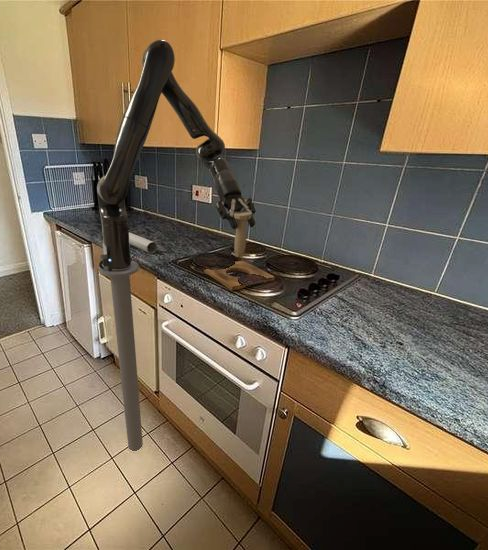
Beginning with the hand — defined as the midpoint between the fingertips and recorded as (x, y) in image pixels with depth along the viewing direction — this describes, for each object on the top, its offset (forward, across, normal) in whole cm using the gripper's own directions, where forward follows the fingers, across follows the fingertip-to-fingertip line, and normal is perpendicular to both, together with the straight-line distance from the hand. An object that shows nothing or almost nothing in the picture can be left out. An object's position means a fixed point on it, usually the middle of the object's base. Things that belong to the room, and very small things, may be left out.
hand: (244, 227), depth 100 cm
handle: (+7, 0, +9) cm, 11 cm away
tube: (-22, -21, +49) cm, 58 cm away
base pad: (+12, 0, +14) cm, 19 cm away
